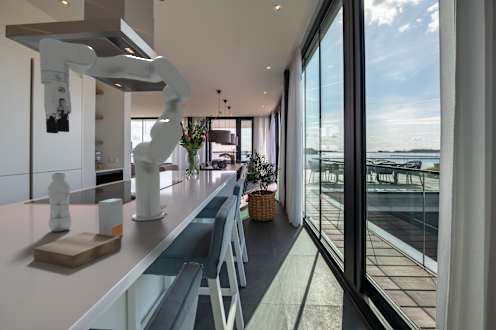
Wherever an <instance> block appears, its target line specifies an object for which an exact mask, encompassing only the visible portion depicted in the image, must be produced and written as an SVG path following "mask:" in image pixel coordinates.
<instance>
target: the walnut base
mask: <svg viewBox="0 0 496 330" xmlns="http://www.w3.org/2000/svg"><path fill="white" fill-rule="evenodd" d="M120 248H122V237H121V236H118V237H117V236H110V235H103V234H99V233H95V232H87V231H84V232H80V233H77V234H74V235H72V236H67V237H65V238H62V239H58V240H56V241H55V240H54V241H52V242H49V243H45V244H43V245H39V246H36V247H34V248H33V261H38V262H40V263H41V262H42V263H47V264H51V265H52V264H53V265H56V266H61V267H65V268H70V269H76V268H78V267H80V266H82V265H84V264H87V263H88V262H91V261H93V260H95V259H98V258H100V257H102V256H105V255H106V254H109V253H112V252H113V251H116V250H118V249H120Z"/></svg>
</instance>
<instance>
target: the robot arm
mask: <svg viewBox="0 0 496 330" xmlns="http://www.w3.org/2000/svg"><path fill="white" fill-rule="evenodd" d="M38 45H39V46H38V47H39V67H40V84H43V85H44V86H43V89H44V90H43V103H44V104H43V105H44V106H43V107H44V108H43V109H44V114H45V128H46V129H45V130H46V133H47V134H59V133H60V132H61V133H69V132H70V116H69V115H71V114H72V101H71V90H70V70H71V71H72V72H74V73H75V74H79V75H83V76H88V77H89V76H90V77H97V78H112V79H129V80H136V81H142V82H147V83H148V82H149V83H161V82H162V81H163V82H164V83H165V85H166V86H164V88H163V89H162V99H163V101H164V109H163V111H162V113H161V115H160V116H159V117H158V118H157V120H156V121H155V123H154V124H153V125H152V127H150V131H149V136H150V138H151V139H150V140H148V141H141V142H139V143H138V144H136V146H135V147H134V149H133V150H132V158H133V164H134V178H135V179H134V180H135V184H134V185H135V213H134V214H132V215H131V219H132V220H134V221H142V222H145V221H154V220H159V219H161V218H164V216H165V213H164V212H163V211H162V210H164V209H166V208H167V207H168V206H167V204H166V203H164V204H161V174H160V173H161V172H160V167H159V166H160V165H162V164H164V163H165V162H167V161H168V159H169V158H170V157H171V155H172V154H173V152H174V151H175V149H176V147H177V146H178V144H179V142H180V141H181V140H182V136H183V127H182V126H181V122H182V121H183V118H184V113H185V112H184V107H183V103H182V102H185V101H188V100H189V99H191V98H192V95H193V87H192V85H191V83H190V81H189V80H188V79H187V78H186V77H185V76H184V75H183V73H182V72H181V71H180V70H179V69H178V68H177V67H176V66H175V65H174V63H173V62H172V61H170V60H169V59H168V58H167V57H164V56H157V57H155V58H153V59H147V58H141V57H138V56H137V57H136V56H132V55H128V54H119V55H114V56H109V57H108V56H107V57H106V56H105V57H101V56H100V57H99V56H97V53H96V52H95V50H94V49H93V48H92V47H90V46H88V45H85V44H83V43H75V42H74V43H72V42H65V41H62V40H59V39H56V38H49V37H47V38H42V39H40V41H39V43H38Z"/></svg>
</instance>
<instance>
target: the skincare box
mask: <svg viewBox="0 0 496 330" xmlns="http://www.w3.org/2000/svg"><path fill="white" fill-rule="evenodd" d="M123 206H124V205H123V198H109V199H103V200H102V201H101V200H100V201H98V234H103V235H110V236H117V237H121V236H123V234H124V223H123V222H124V220H123V219H124V217H123V216H124V215H123V213H124V212H123V208H124V207H123Z"/></svg>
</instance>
